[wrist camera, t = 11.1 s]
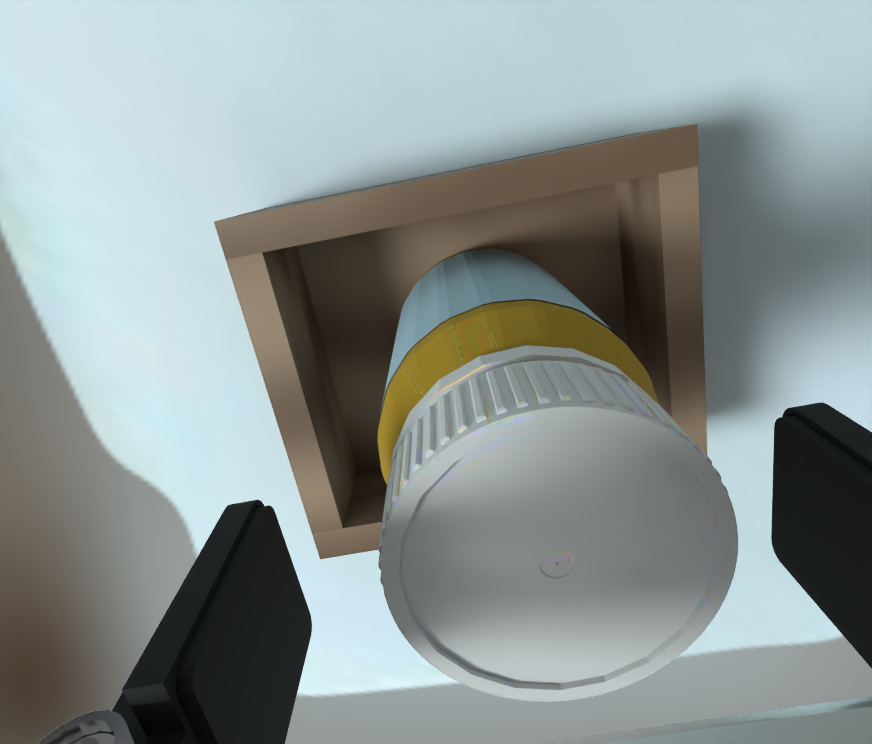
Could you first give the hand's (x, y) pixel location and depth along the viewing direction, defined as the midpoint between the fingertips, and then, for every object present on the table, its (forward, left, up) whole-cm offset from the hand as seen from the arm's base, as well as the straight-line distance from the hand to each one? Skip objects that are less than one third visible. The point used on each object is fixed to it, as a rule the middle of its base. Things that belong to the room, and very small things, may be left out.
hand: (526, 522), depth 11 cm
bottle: (0, 0, -14) cm, 14 cm away
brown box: (0, 0, -15) cm, 15 cm away
